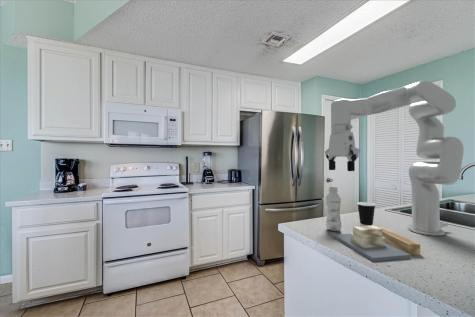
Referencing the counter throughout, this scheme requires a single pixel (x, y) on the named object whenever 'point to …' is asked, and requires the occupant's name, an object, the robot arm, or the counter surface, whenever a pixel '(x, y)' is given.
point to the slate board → (374, 250)
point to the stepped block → (368, 236)
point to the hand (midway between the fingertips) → (341, 170)
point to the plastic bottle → (333, 210)
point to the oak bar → (400, 242)
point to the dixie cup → (366, 213)
